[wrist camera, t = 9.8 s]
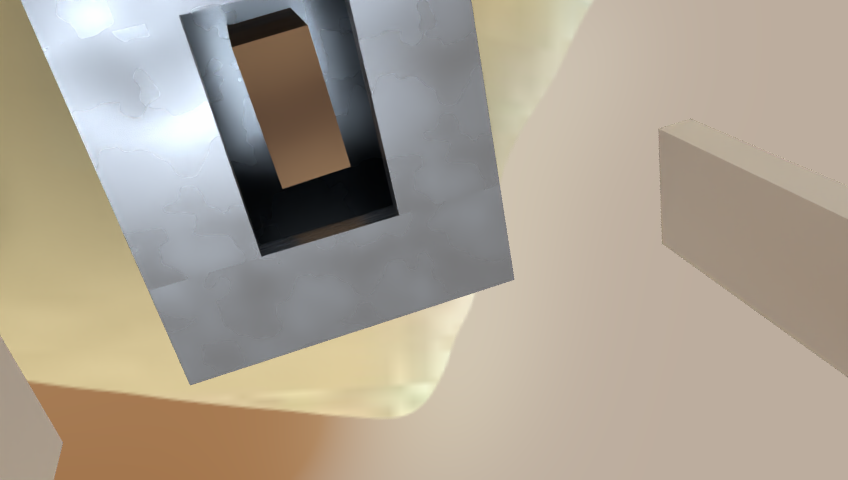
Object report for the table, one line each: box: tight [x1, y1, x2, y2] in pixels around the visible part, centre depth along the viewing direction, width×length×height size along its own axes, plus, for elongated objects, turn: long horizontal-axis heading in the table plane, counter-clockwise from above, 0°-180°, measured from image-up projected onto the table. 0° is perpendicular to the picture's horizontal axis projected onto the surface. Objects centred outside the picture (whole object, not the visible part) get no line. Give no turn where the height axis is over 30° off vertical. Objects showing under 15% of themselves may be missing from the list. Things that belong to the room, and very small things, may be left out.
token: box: [227, 8, 351, 189], centre depth 31 cm, size 6×3×6 cm, turn 14°
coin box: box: [21, 0, 514, 385], centre depth 29 cm, size 18×14×10 cm
